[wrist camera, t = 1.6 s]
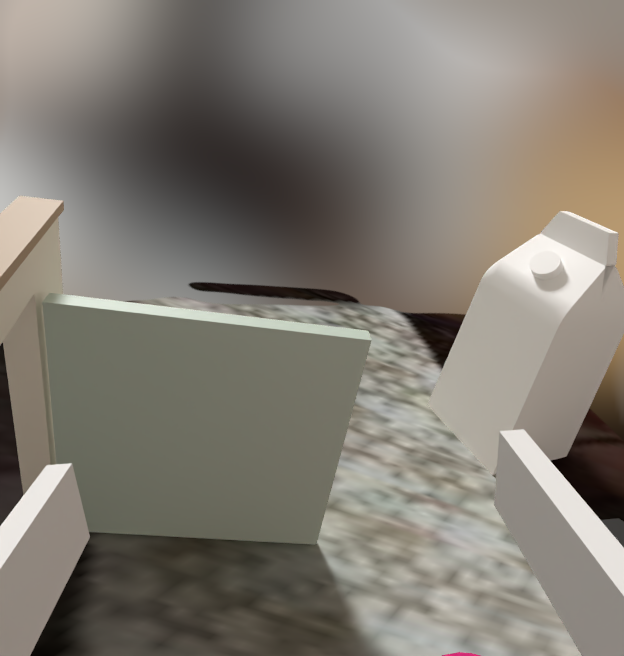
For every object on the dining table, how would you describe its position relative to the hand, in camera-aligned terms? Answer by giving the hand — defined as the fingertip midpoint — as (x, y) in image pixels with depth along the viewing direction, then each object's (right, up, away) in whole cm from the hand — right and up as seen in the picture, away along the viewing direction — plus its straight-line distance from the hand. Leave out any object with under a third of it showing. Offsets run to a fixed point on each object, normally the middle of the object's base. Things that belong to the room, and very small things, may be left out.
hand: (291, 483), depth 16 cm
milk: (+22, -7, +46) cm, 52 cm away
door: (-9, -11, +27) cm, 30 cm away
